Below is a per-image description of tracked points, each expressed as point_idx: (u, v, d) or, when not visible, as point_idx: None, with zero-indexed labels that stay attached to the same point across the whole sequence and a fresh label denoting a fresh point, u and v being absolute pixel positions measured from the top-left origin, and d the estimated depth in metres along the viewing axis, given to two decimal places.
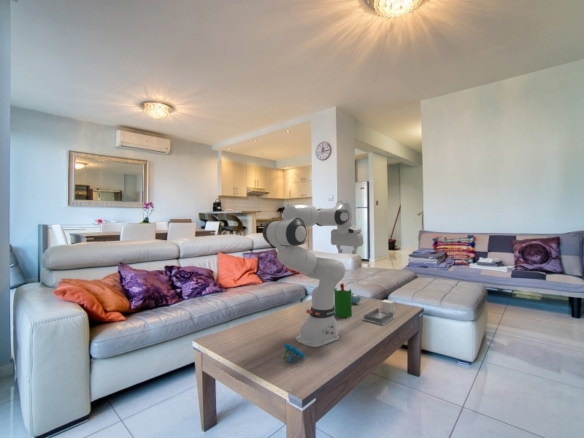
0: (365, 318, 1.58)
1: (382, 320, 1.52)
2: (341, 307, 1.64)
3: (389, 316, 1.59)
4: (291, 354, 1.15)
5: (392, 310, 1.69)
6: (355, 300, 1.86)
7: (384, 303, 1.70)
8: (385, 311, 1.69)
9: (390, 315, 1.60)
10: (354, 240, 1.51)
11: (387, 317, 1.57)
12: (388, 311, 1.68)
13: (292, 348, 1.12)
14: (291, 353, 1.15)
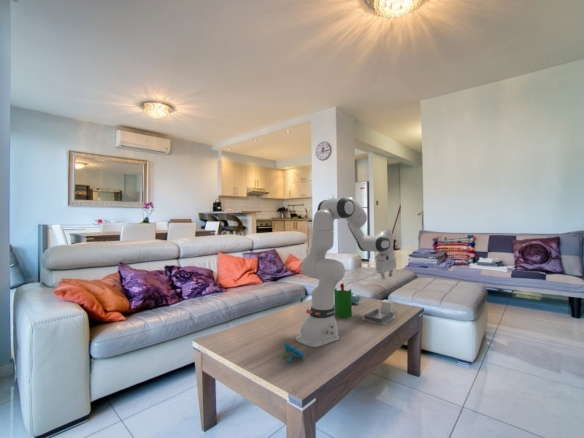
0: (365, 318, 1.58)
1: (382, 320, 1.52)
2: (341, 307, 1.64)
3: (389, 316, 1.59)
4: (291, 354, 1.15)
5: (392, 310, 1.69)
6: (355, 300, 1.86)
7: (384, 303, 1.70)
8: (385, 311, 1.69)
9: (390, 315, 1.60)
10: None
11: (387, 317, 1.57)
12: (388, 311, 1.68)
13: (291, 348, 1.12)
14: (291, 353, 1.15)
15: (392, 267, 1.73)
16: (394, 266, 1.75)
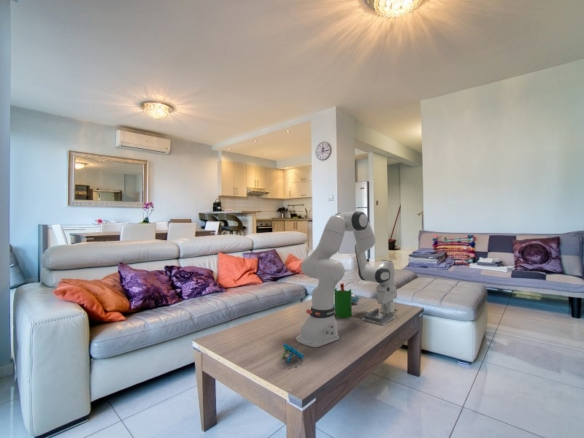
0: (365, 318, 1.58)
1: (382, 320, 1.52)
2: (341, 307, 1.64)
3: (389, 316, 1.59)
4: (290, 354, 1.15)
5: (392, 310, 1.69)
6: (353, 300, 1.87)
7: None
8: (385, 311, 1.69)
9: (390, 315, 1.60)
10: None
11: (387, 317, 1.57)
12: (388, 311, 1.68)
13: (290, 348, 1.12)
14: (290, 353, 1.15)
15: (393, 297, 1.73)
16: (395, 296, 1.75)
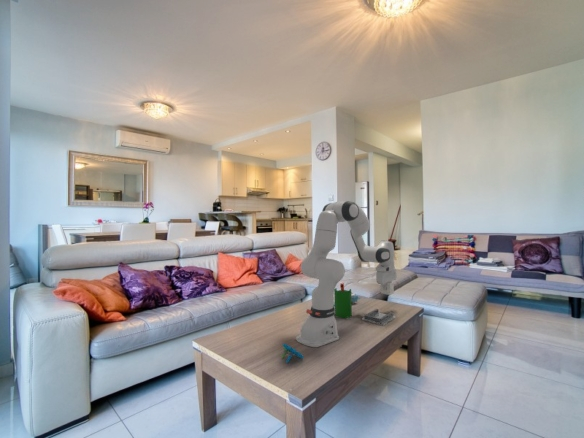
0: (365, 318, 1.58)
1: (382, 320, 1.52)
2: (341, 307, 1.64)
3: (389, 316, 1.59)
4: (289, 354, 1.15)
5: (391, 290, 1.69)
6: (353, 299, 1.88)
7: None
8: (384, 292, 1.69)
9: (390, 315, 1.60)
10: None
11: (387, 317, 1.57)
12: (387, 291, 1.68)
13: (290, 348, 1.12)
14: (289, 353, 1.15)
15: (392, 278, 1.72)
16: (394, 277, 1.75)
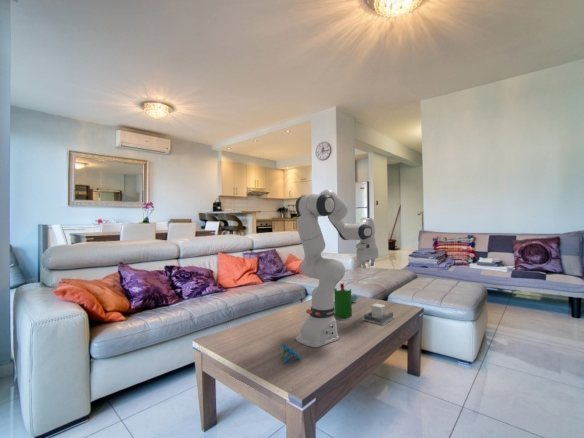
0: (365, 318, 1.58)
1: (382, 320, 1.52)
2: (341, 307, 1.64)
3: (389, 316, 1.59)
4: None
5: (383, 315, 1.58)
6: (352, 298, 1.90)
7: (374, 307, 1.59)
8: (375, 316, 1.59)
9: (390, 315, 1.60)
10: None
11: (387, 317, 1.57)
12: (379, 316, 1.57)
13: (287, 349, 1.12)
14: (287, 354, 1.15)
15: (374, 256, 1.68)
16: (376, 255, 1.70)
